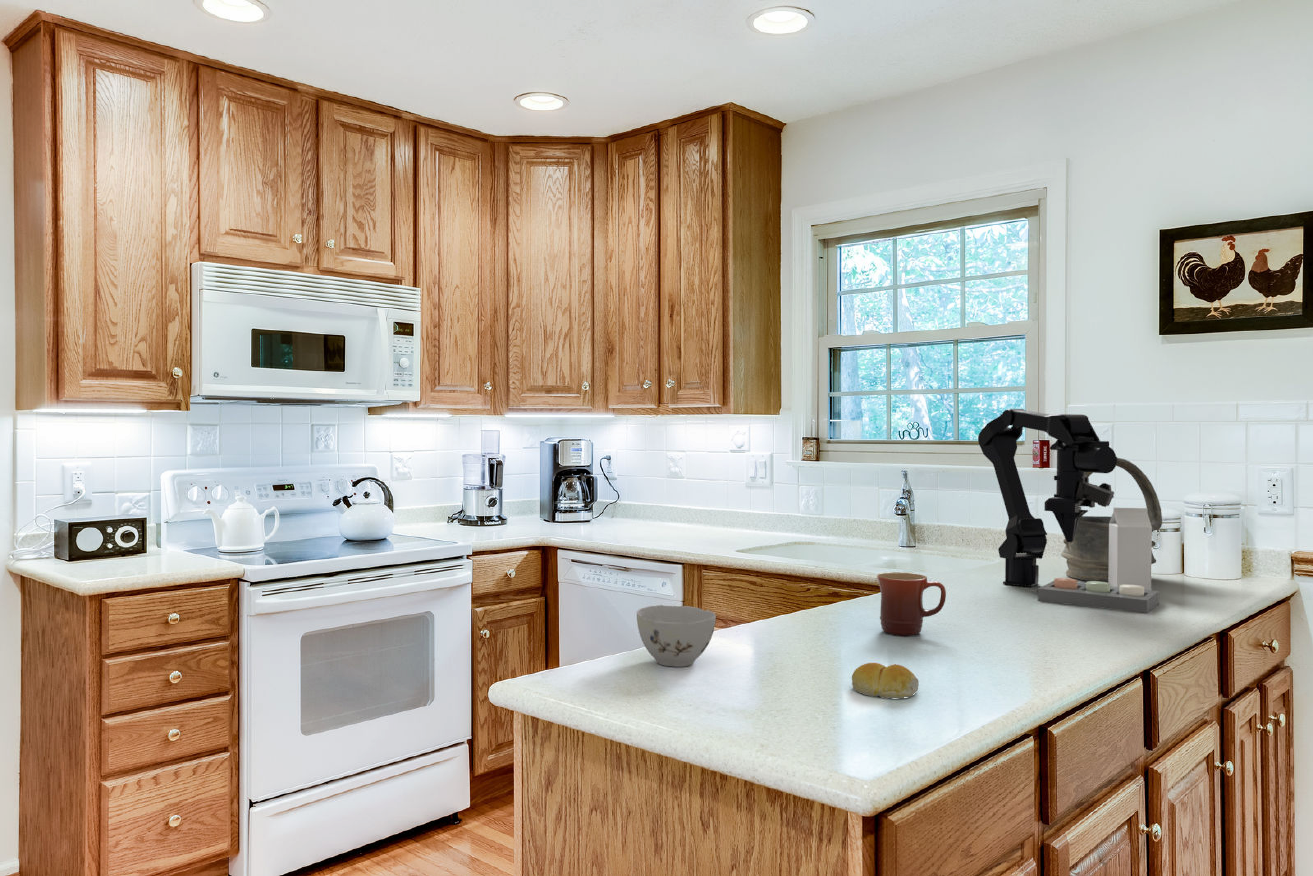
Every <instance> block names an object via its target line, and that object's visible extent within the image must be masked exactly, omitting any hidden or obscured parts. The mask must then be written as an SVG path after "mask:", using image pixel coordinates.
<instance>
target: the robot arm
mask: <svg viewBox="0 0 1313 876" xmlns="http://www.w3.org/2000/svg"><path fill="white" fill-rule="evenodd" d="M1010 426H1011V427H1010ZM1024 428H1025V429H1031V430H1035V431H1041V432H1044V433H1046V434H1047V435H1048V436H1049V437H1051V438H1053V439H1056V441H1055V442H1054V443H1053V444H1052V445H1050V446H1049V450H1051V451H1056V475H1053V481H1056V490H1055V492H1056V493H1054V494H1053V497H1049V498H1048V499H1046V500H1045V501H1044V511H1045V512H1052V514H1053V515H1054V517H1055V519H1056V521H1057V523H1058V526H1059V528H1060V530H1061V532H1062V534H1063V536H1064V539H1066V541H1067V542H1073V540H1074V536H1075V533H1076V529H1077V526H1078V522H1079V519H1080V517H1081V516H1085V514H1086V513H1088V512H1089V510H1088V509H1087V510H1086V509H1082V507H1089V508H1095V507H1096V504H1097V505H1098V506H1101V507H1104V508H1106V507H1110V504H1111V502H1112V499H1114V498H1115V496H1114V495H1115V491H1113V490H1112V485H1111V484H1109V483H1106V482H1103V483H1101V484H1100V485H1096V484H1094V483H1090V480H1089V479H1090V478H1089V477H1087V476H1085V472H1092V474H1094V473H1095V474H1109V473H1111V472H1113V471H1114V470H1115V469H1116V467H1117V466H1116V464H1117V458H1118V456H1117V455H1116V453H1115V451H1114V449H1113V448H1112V447H1110V441H1108V440H1107V441H1106V440H1102V441H1101V440H1100V438H1099V436H1098V435H1097V433H1096V430H1095V429H1094V428H1093V425H1092V423H1091V422H1090V420H1089V417H1088V416H1087V415H1086V414H1073V413H1072V414H1062V413H1061V414H1048V413H1042V412H1038V411H1037V412H1036V411H1030V410H1026V409H1024V408H1007V409H1005V410H1004V411H1003V412H1002V413H1001V414H1000V415H999V416H997V417H995V418H994V419H992V420H991V421H989V422H988V423H987V424H986V425H985V426H984V427H983V428H982V429H981V430H980V432H979V433H978V436H977V441H978V444H979V447H980V449H981V451H982V454H983V456H984V457H985V458H987V460H988V461H990V462H991V463H992V465H993V468H994V472H995V475H996V479H997V483H998V486H999V489H1000V492H1001V497H1002V500H1003V504H1004V507H1005V509H1006V514H1007V516H1008V521H1007V524H1006V527H1005V536H1006V539H1005V540H1004V541H1003V542H1002V543H1001V544H1000V546H999V547H997V548H998V549H997V551H998V554H999V558H1002V559H1004V560H1005V563H1004V564H1005V565H1004V566H1005V575H1004V576H1005V577H1004V578H1005V579H1004V581H1002V584H1003V585H1011V586H1012V585H1013V586H1020V587H1031V588H1032V587H1033V586H1036V585H1038V584H1039V576H1040V575H1039V574H1040V573H1039V572H1040V571H1039V568H1040V567H1039V565H1038V564H1037V559H1039V560H1042V559H1043V557H1044V552H1045V551H1046V545H1047V543H1048V539H1047V535H1048V533H1047V532H1046V529H1045V526H1044V521H1043V519H1042V518H1039V517H1038V518H1035V517H1034V516H1033V515H1032V514H1031V511H1030V508H1029V504H1028V501H1027V497H1026V494H1025V490H1024V487H1023V484H1022V481H1021V478H1020V474H1019V470H1018V468H1017V464H1016V462H1015V456H1016V454H1017V449H1018V442H1017V441H1018V440H1019V439H1020V438H1021V437H1022V436H1023V429H1024Z"/></svg>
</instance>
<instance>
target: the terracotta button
mask: <svg viewBox="0 0 1313 876" xmlns="http://www.w3.org/2000/svg"><path fill="white" fill-rule="evenodd" d="M1053 581H1054V587H1057V588H1066V589H1077V583H1078V579H1074V578H1070V577H1069V578H1067V577H1066V578H1065V577H1058V578H1057V577H1056V578H1054V580H1053Z"/></svg>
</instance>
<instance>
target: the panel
mask: <svg viewBox="0 0 1313 876" xmlns="http://www.w3.org/2000/svg"><path fill="white" fill-rule="evenodd" d="M1159 594H1160V591H1159V590H1153V589H1151V590H1144V597H1141V596H1132V595H1123V594H1119V587H1113V586H1110V593H1104V592H1094V591H1086V583H1084V582H1083V583H1082V582H1077V589H1066V588H1057V587H1054V580H1052V581H1050V582H1048V583H1046V584H1045V585H1042V586H1040V587H1038V588H1037V601H1039V602H1048V603H1050V602H1051V603H1056V604H1065V605H1072V606H1073V605H1075V606H1082V607H1091V608H1098V609H1099V608H1100V609H1108V610H1109V609H1110V610H1115V611H1116V610H1118V611H1123V612H1124V611H1126V612H1127V611H1128V612H1135V613H1140V614H1141V613H1144V614H1148V613H1149V612H1151V610H1153V609H1154V608H1156V606H1157V605H1158V604H1159V603H1160V601H1159V598H1160V597H1159V596H1160V595H1159Z"/></svg>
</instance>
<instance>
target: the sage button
mask: <svg viewBox="0 0 1313 876" xmlns="http://www.w3.org/2000/svg"><path fill="white" fill-rule="evenodd" d="M1085 584H1086V591H1094V592H1104V593H1110V583H1106V582H1099V581H1085Z"/></svg>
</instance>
